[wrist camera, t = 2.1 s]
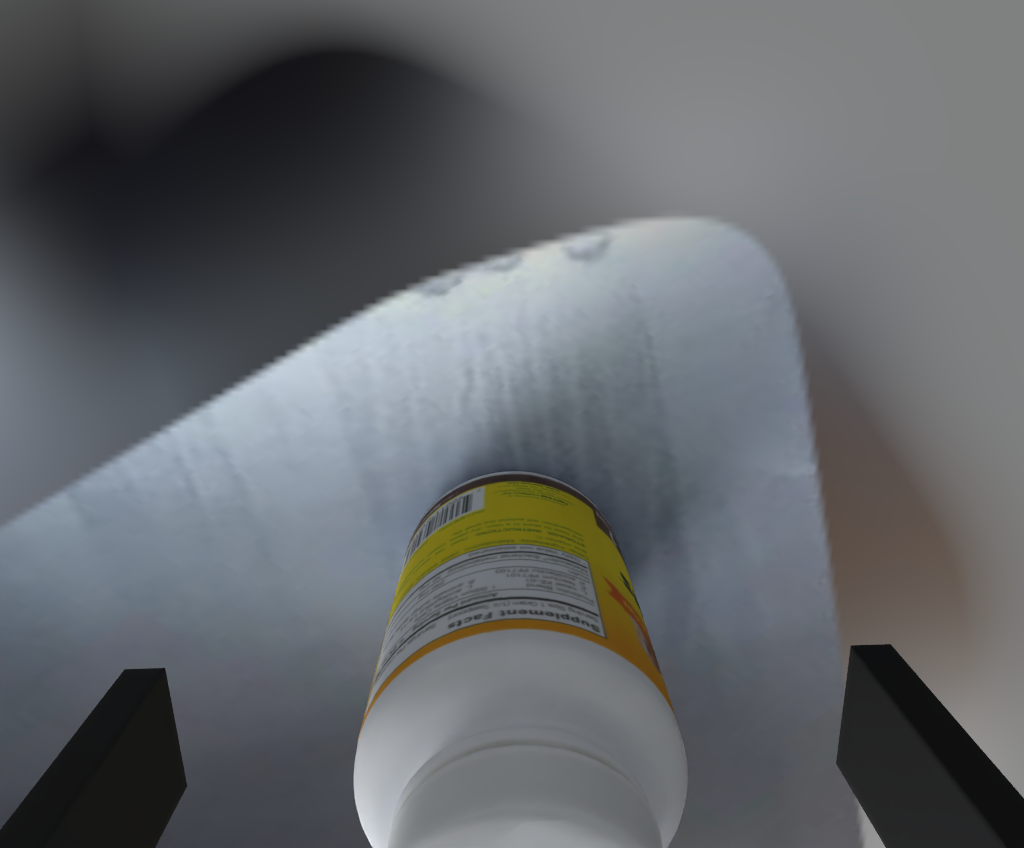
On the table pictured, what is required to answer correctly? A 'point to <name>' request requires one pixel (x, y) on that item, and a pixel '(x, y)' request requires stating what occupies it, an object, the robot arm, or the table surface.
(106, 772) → the robot arm
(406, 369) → the table surface
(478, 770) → the supplement bottle
